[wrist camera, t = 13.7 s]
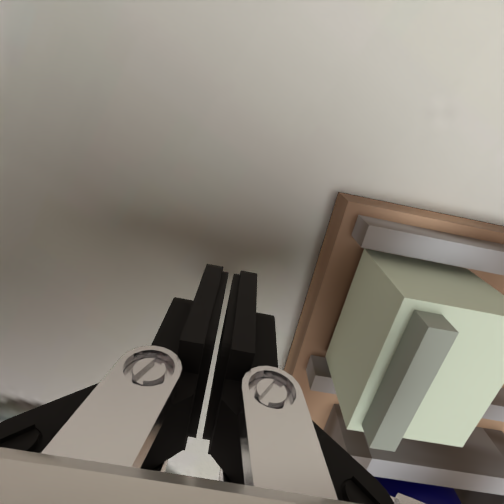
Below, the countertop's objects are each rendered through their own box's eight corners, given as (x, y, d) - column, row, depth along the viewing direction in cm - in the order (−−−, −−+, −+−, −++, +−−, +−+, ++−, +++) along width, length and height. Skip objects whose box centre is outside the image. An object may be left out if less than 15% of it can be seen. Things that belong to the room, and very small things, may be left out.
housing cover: (325, 356, 14) (353, 452, 10) (364, 248, 12) (417, 314, 8) (415, 371, 14) (477, 471, 10) (466, 268, 12) (568, 341, 8)
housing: (249, 483, 20) (247, 586, 15) (338, 192, 13) (380, 230, 9) (436, 509, 21) (485, 614, 16) (613, 249, 14) (776, 310, 10)
